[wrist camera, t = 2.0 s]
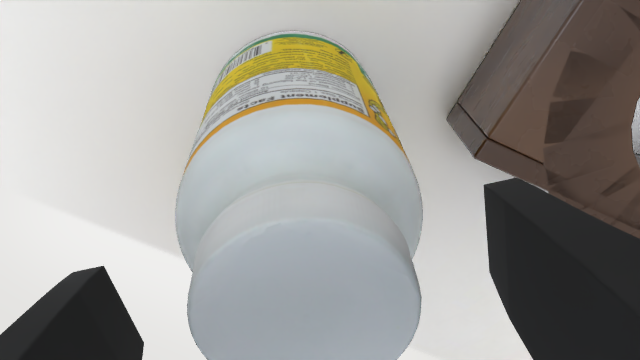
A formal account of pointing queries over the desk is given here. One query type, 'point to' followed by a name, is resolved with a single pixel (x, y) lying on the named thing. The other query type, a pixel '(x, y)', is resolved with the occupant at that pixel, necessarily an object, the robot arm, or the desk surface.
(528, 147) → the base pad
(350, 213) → the supplement bottle
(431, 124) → the desk surface
